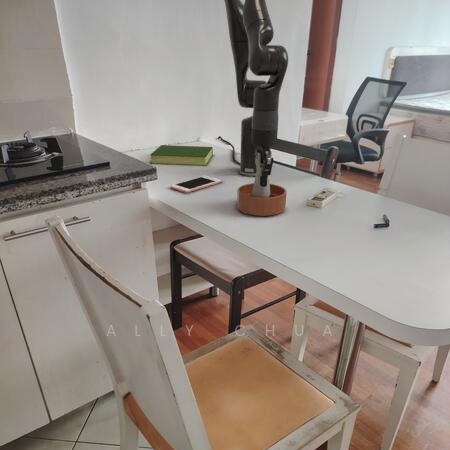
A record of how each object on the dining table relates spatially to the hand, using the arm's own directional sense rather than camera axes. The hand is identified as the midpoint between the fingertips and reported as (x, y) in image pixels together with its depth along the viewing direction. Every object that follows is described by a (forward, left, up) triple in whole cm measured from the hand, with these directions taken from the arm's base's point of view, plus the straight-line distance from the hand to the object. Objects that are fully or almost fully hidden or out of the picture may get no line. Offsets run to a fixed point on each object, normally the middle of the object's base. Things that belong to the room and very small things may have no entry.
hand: (261, 185), depth 127 cm
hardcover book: (-68, -18, -8) cm, 71 cm away
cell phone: (-28, -17, -7) cm, 33 cm away
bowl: (0, 0, -7) cm, 7 cm away
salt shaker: (0, 0, -5) cm, 5 cm away
